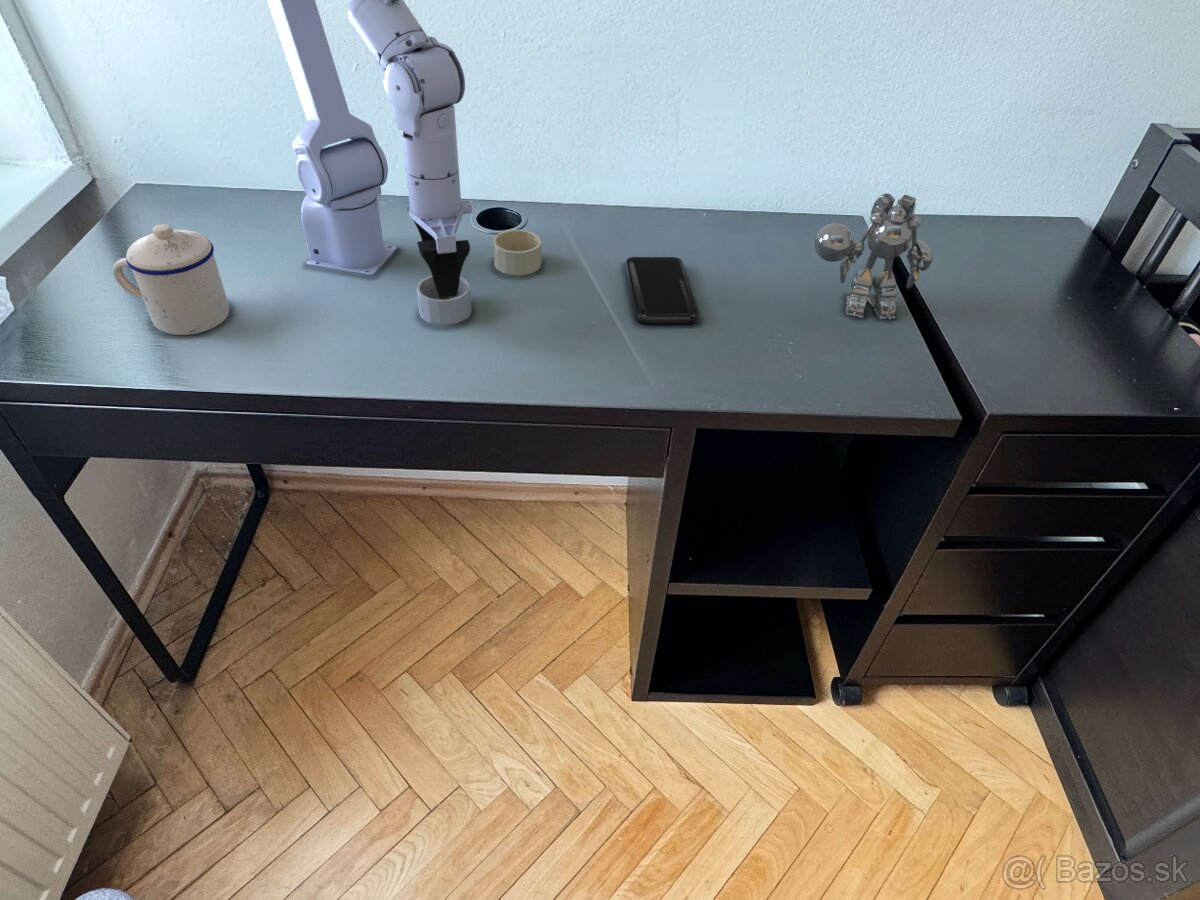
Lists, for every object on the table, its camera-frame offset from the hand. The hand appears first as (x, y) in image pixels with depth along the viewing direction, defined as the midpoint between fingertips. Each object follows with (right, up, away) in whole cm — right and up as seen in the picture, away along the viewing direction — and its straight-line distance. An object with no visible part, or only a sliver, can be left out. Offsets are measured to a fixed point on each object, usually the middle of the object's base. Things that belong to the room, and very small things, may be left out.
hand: (442, 278), depth 97 cm
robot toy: (+53, -2, +10) cm, 54 cm away
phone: (+27, 0, +9) cm, 29 cm away
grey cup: (0, -4, +3) cm, 5 cm away
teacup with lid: (-32, -5, 0) cm, 32 cm away
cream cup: (+8, +4, +13) cm, 16 cm away
